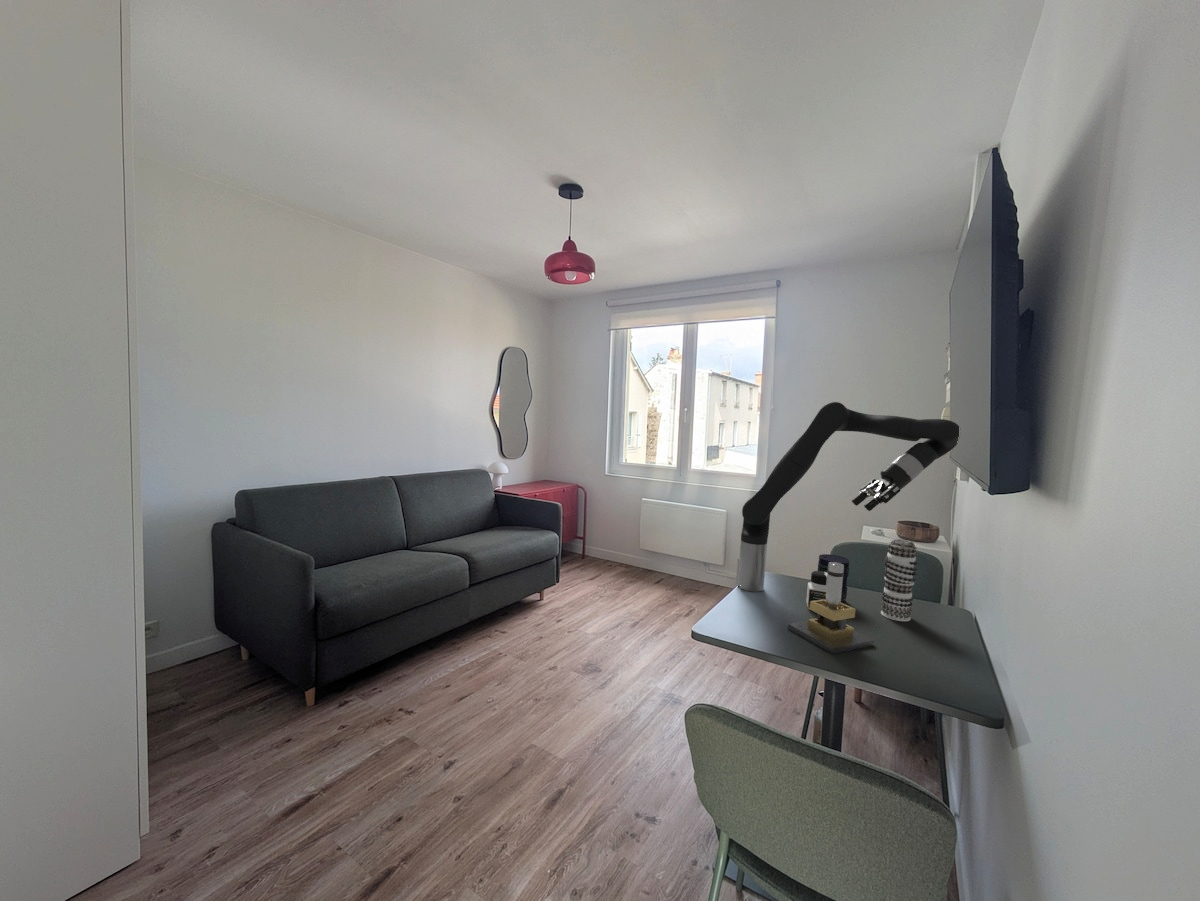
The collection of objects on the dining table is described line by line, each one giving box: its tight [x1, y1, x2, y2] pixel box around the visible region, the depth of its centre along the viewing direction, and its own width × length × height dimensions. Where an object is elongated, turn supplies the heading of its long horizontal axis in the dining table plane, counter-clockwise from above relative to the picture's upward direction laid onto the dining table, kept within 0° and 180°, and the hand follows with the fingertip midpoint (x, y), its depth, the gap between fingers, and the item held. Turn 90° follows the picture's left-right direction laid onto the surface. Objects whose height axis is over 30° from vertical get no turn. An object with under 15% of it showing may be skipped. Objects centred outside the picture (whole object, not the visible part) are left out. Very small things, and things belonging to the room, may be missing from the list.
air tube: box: [823, 562, 844, 629], centre depth 142 cm, size 4×4×20 cm
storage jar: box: [817, 553, 850, 605], centre depth 172 cm, size 10×10×15 cm
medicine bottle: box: [806, 570, 828, 611], centre depth 165 cm, size 7×7×12 cm
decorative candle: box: [880, 538, 919, 622], centre depth 160 cm, size 9×9×25 cm
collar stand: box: [787, 599, 875, 655], centre depth 142 cm, size 16×16×10 cm
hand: (859, 506), depth 152 cm, fingers open, 8 cm apart
